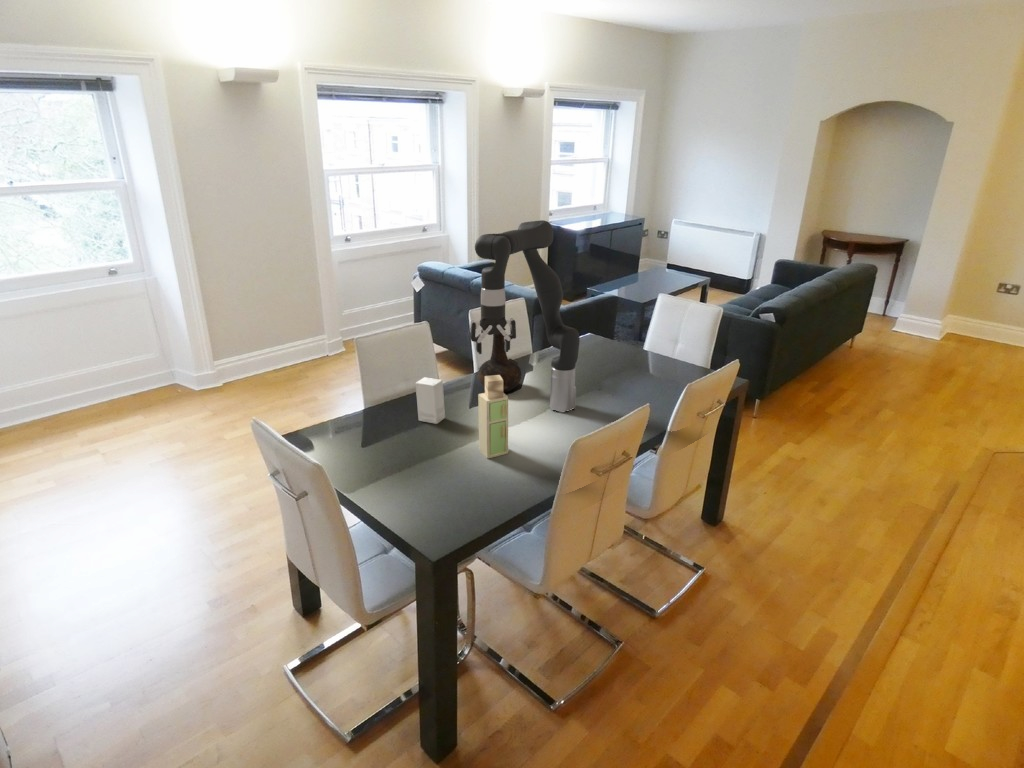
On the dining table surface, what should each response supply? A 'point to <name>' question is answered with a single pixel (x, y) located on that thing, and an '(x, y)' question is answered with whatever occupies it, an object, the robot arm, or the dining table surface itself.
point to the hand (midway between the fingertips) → (493, 352)
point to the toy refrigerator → (493, 425)
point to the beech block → (493, 386)
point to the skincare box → (430, 400)
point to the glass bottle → (500, 365)
